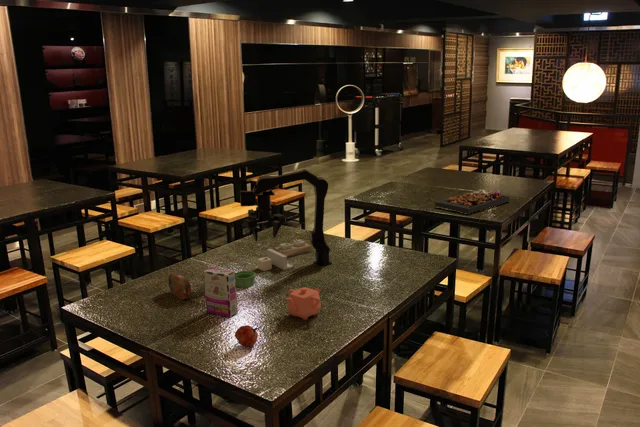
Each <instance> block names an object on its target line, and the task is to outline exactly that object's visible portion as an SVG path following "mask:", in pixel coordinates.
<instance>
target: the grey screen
mask: <svg viewBox="0 0 640 427" xmlns="http://www.w3.org/2000/svg"><path fill="white" fill-rule="evenodd" d="M266 254H267V255H266V257H267V258H269V259H271V263H272V265H273V266H275V267H277V268H279V269H281V270H283V271H284V270H289V269H293V268H294V266H293V264H290V263H289V262H288V257H287V256H285V255H283V254H281V253H279V252H277V251H275V250H274V248H268V249H266Z"/></svg>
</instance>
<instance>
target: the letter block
mask: <svg viewBox="0 0 640 427" xmlns="http://www.w3.org/2000/svg"><path fill="white" fill-rule="evenodd" d="M272 265H273V264H272V263H271V259H269V258H267V256H265V257H260V258H257V268H258V270H261V272H264V271H265V272H266V271H269V270H272V269H273V266H272Z"/></svg>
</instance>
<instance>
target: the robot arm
mask: <svg viewBox="0 0 640 427" xmlns="http://www.w3.org/2000/svg"><path fill="white" fill-rule="evenodd" d="M303 180H304V181H306V182H307V183H309V184H310V185H312V186H313V192H314V196H315V197H314V198H315V199H314V201H315V202H314V203H315V205H314V217H313V218H314V222H313V229H312V230H309V238H308V240H309V242H310V245H311V246H312V248H314V249H315V254H314V255H315V256H314V258H315V261H312V264H314V265H317V266H318V267H324V266H328V265H331V264H333V262H332V261H330V251H331V248H330V246H329V245H328V243H327V242H326V240H325V233H324V218H325V217H324V215H325V201H326V200H325V199H326V197H327V194H328V190H329V183H328V181H327V180H326V179H325V178H323V177H321V176H319V177H318V176H317V175H315V174H313V173H312V172H310V171H309V170H307V169H305V168H303V169H300V170H297V171H293V172H289V173H288V172H287V173H284V174H280V175H261V176H259V177H258V178H257V179H256V183H255V185H254V186H253V188H252V190H240V198H239V200H240V202H239V203H240V207H254V205H256V204H257V206H256V207H255V210H254V209H253V208H251V209H247V214H248V218H246V219H244V220H243V222H242V226H243V227H245V228H247V229H249V231H250V232H251V234H252V236H253V239H254V241H255V242H258V237H259V236H258V235H259V234H258V231H259V230H258V229H259V228H258V227H257V226H258V225H260V224H266V223H267V224H268V223H271V225H272V238H274V239H275V238H276V236H277V235H278V233H279V230H280V228H281V227H282V225H284V223H286V222H287V221H286V220H287V219H286V216H285V215H284V214H281V213H275V214H272V211H273V207H271V205H272V204H271V203H272V201H271V196H275V195H276V194H275V192H274V191H273V190H272V189H274V188H276V187H278V186H281V185H282V186H283V185H285V184H289V183H295V182H298V181H299V182H300V181H303Z"/></svg>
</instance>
